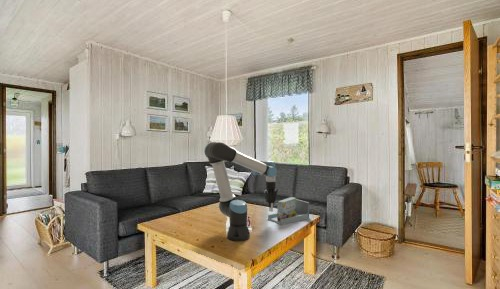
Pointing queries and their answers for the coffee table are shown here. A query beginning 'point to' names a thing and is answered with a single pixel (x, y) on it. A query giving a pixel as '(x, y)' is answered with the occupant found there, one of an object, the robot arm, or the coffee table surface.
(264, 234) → the coffee table surface
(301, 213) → the shelf
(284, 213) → the snack box
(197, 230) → the coffee table surface
